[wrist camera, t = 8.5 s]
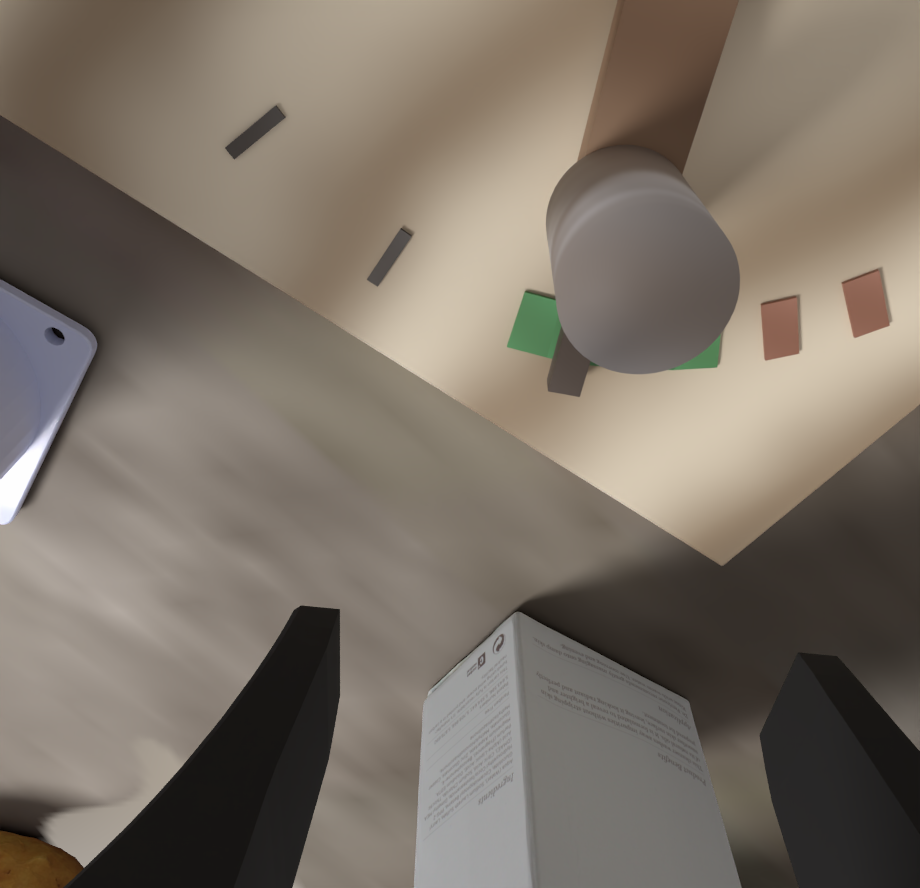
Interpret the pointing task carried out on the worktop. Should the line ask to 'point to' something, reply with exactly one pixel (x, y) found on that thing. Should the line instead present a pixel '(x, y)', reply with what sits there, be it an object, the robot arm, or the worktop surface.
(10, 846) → the potato
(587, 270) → the lever
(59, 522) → the worktop surface
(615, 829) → the skincare box
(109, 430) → the worktop surface
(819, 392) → the dial board
